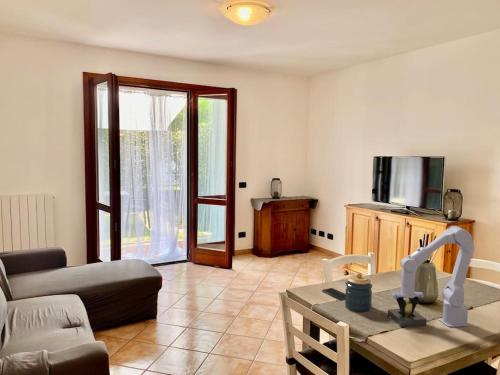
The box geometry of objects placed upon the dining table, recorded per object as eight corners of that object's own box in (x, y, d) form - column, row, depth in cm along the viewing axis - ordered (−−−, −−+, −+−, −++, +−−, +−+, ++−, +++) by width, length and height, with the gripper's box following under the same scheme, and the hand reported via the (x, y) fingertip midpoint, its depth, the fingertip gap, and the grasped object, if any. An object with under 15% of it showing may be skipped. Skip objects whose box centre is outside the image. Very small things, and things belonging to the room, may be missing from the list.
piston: (408, 314, 176) (409, 300, 175) (413, 318, 172) (414, 303, 171) (400, 314, 175) (401, 300, 174) (405, 318, 171) (406, 304, 170)
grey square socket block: (411, 314, 180) (411, 308, 180) (426, 325, 169) (426, 319, 168) (387, 315, 179) (387, 309, 179) (400, 327, 167) (401, 320, 167)
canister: (373, 313, 181) (374, 278, 179) (345, 311, 183) (346, 276, 182) (370, 303, 194) (371, 269, 192) (344, 301, 196) (345, 268, 195)
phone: (340, 299, 197) (321, 290, 210) (340, 301, 197) (321, 292, 210) (351, 296, 201) (332, 287, 214) (351, 298, 201) (332, 289, 214)
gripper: (397, 287, 167) (396, 317, 169) (427, 286, 169) (426, 315, 170) (389, 282, 174) (388, 310, 175) (418, 281, 176) (417, 309, 177)
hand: (406, 312), depth 173 cm, fingers closed on piston, 4 cm apart
